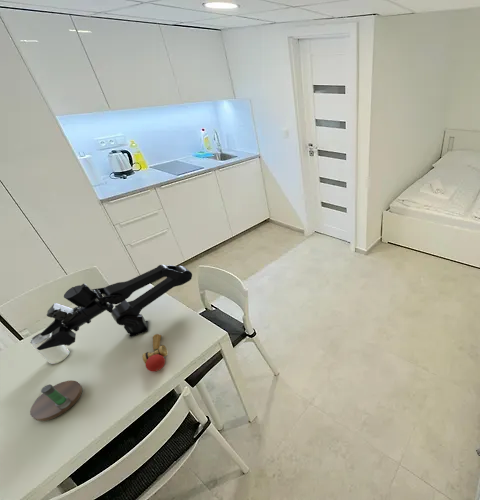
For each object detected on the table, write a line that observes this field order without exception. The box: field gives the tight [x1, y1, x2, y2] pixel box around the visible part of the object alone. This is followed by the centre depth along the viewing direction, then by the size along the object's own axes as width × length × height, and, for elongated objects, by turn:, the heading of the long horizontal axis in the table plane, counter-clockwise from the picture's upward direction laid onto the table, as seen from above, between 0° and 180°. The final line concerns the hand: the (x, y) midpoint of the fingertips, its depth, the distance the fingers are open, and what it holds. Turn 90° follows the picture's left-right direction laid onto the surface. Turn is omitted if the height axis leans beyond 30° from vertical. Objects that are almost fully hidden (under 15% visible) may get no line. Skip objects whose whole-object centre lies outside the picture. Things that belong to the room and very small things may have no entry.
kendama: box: [141, 333, 169, 373], centre depth 111 cm, size 8×6×18 cm
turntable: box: [29, 380, 83, 422], centre depth 94 cm, size 13×13×11 cm
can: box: [29, 332, 70, 365], centre depth 109 cm, size 6×6×12 cm
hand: (39, 341), depth 100 cm, fingers open, 9 cm apart
